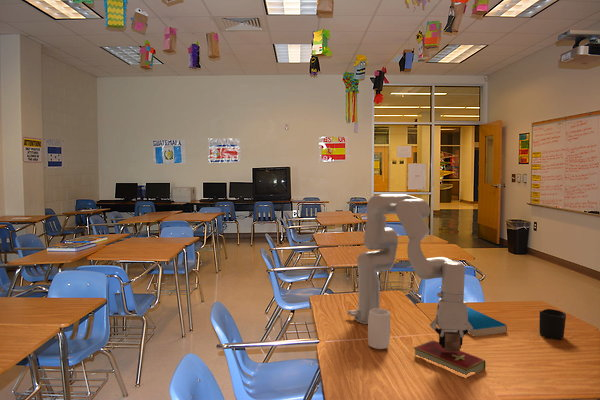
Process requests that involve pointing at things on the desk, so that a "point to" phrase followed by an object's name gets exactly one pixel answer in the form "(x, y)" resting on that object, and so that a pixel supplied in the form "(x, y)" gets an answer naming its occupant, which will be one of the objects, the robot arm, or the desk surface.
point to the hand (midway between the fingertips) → (450, 346)
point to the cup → (379, 328)
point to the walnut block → (452, 340)
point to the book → (484, 324)
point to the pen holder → (552, 324)
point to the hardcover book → (450, 358)
